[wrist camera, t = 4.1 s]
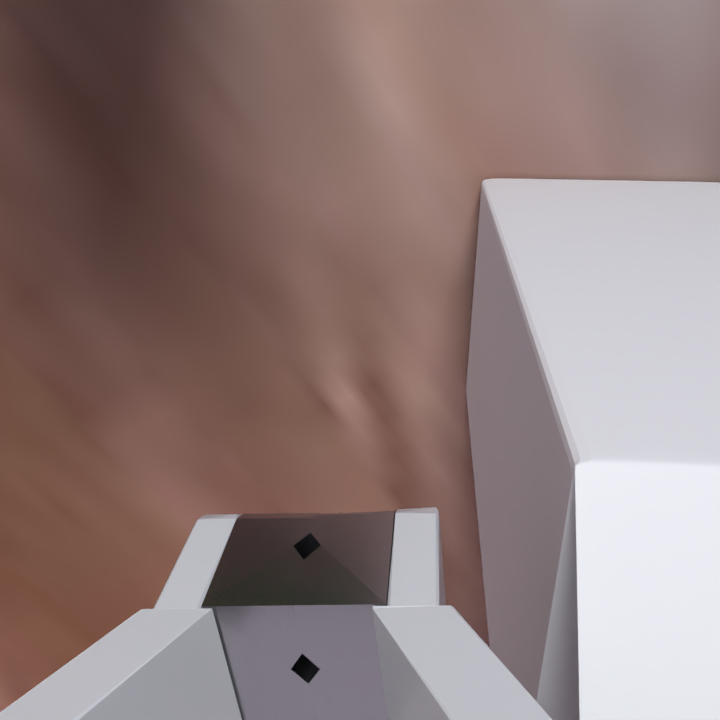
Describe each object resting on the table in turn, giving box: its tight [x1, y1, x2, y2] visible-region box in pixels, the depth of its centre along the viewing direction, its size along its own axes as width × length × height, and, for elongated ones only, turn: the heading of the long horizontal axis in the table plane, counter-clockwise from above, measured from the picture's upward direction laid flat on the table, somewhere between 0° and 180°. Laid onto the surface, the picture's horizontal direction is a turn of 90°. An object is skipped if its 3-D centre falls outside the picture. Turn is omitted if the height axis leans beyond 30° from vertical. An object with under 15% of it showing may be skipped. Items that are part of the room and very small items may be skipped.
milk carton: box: [466, 179, 720, 720], centre depth 13 cm, size 7×7×19 cm
